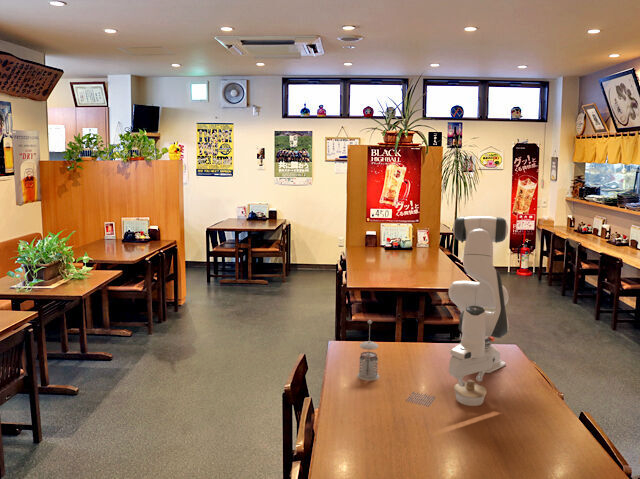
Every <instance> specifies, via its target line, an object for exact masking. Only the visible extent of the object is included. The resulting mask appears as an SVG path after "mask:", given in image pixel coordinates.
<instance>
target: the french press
mask: <svg viewBox="0 0 640 479" xmlns="http://www.w3.org/2000/svg"><path fill="white" fill-rule="evenodd" d="M367 324H373V320H371V319H369V320H367ZM368 331H369V332H368V336H369V337H368V341H364V342H361V343H360V344H359V347H360V348H361V349H363V350H368V351H362V352H361V353H360V356H359V365H358V368H359V369H358V371H359V372H358V373H357V374H356V377H357V378H358V379H360V380H362V381H367V382H368V381H371V382H372V381H377V380H379V379H380V375H379V374H378V365H379V358H378V357H377V356H378V354H377V353H376V352H373V350H377V349H378V348H379V344H378V343H376V342H375V341H371V339H370V337H371V325H369V329H368Z"/></svg>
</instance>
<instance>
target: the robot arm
mask: <svg viewBox="0 0 640 479" xmlns="http://www.w3.org/2000/svg"><path fill="white" fill-rule="evenodd" d="M454 220H455V221H454V222H453V225H452V232H453V235H454V238H455V239H456V240H457V241H459V242H460V243H464V246H463V247H464V248H463V259H462V260H463V262H462V263H463V269H464V272H465V273H466V274H467V275H469V276H470V277H471V278H472V279H475V280H477V281H472V280H466V279H465V280H455V281H453V282H452V283H450V286H449V287H448V296H449V299H450V301H451V302H452V303H453V304H455V305H456V307H457V308H458V309H459V311H460V314H459V316H458V319H459V320H458V322H459V324H458V330H459V331H460V332H461V333H462V334H461V338H460V342H459V343H458V344H457V345H456V346H455V347H453V348H452V349H450V355H451V357H450V359H449V367H448V373H449V375H450V376H452V377H453V378H456V379H457V380H458V383H459V386H461V387H463V386H465V382H466V381H464V380H463V379H464V377H465V376H469V375H473V374H476V373H478V374H477V375H476V377H475V381H476V382H482V381H483V377H484V375H485V374H490V373H493V372H494V371H496V370H498V369H500V368H504V367H505V366H506V362H505V361H504V360H502V359H501V353H500V351H499V350H498V349H497V348H496V347H495V346H494V345H492V344H491V342H495V340H496V339H500V338H502V337H504V336H505V335H507V334H508V331H509V325H510V324H509V319H508V316H507V311H506V305H507V304H508V301H509V296H510V295H509V291H508V290H507V288H506V287H505V286H504V285H503V282H502V277H501V274H500V271H499V270H498V269H496V268H495V267H494V264H493V263H494V261H493V260H494V259H493V258H494V243H495V244H497V243H501V242H504V240H506V238H507V235H508V233H509V227H508V226H509V225H508V223H507V220H506V219H505V218H503V217H501V216H496V217H494V216H487V215H481V216H479V215H478V216H477V215H475V216H473V215H472V216H465V215H463V216H459V217H457V218H455V219H454ZM484 308H485V309H492V310H491V311H490V310H485V309H484ZM493 309H494V310H493Z"/></svg>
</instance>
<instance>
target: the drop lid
mask: <svg viewBox="0 0 640 479" xmlns="http://www.w3.org/2000/svg"><path fill="white" fill-rule="evenodd" d="M464 382H465V386H463V387H461V386H459V382H458V383H456V384H455V385H454V387H453V390H454V393H455V392H456V393H458V394H460V395H462V396H465V397H471V398H478V397H483V396H485V397H486V395H487V389H486V388H485V386H483V385H480V384H478V383H476V380H475V381H474V379H473V380H472V379H467V380H466V381H464ZM456 393H455V394H456Z"/></svg>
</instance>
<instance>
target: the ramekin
mask: <svg viewBox="0 0 640 479" xmlns="http://www.w3.org/2000/svg"><path fill="white" fill-rule="evenodd" d="M454 394H455V397H456V400H457V402H458V403H460V404H462V405H465V406H468V407H469V406H470V407H476V406H481V405H483V403H484V400H485V397H486V395H485V396H483V397H478V398H471V397H465V396H462V395H460V394H458V393H456V392H455V391H454Z"/></svg>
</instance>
